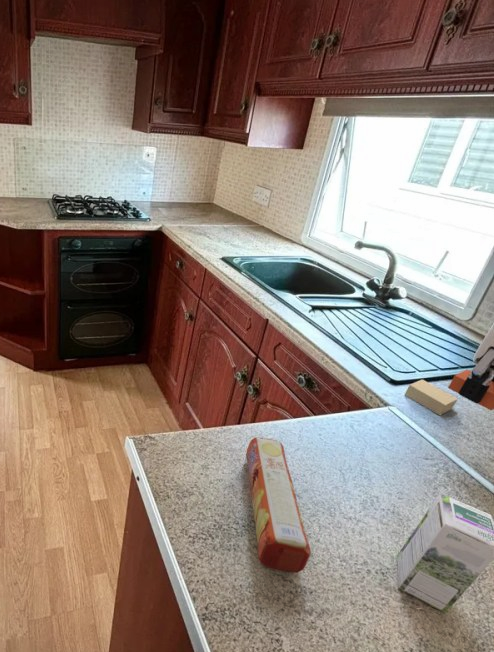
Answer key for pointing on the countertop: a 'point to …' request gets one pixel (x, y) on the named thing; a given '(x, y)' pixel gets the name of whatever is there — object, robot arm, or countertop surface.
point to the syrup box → (446, 552)
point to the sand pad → (431, 397)
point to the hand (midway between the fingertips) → (475, 393)
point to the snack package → (276, 508)
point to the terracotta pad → (489, 400)
